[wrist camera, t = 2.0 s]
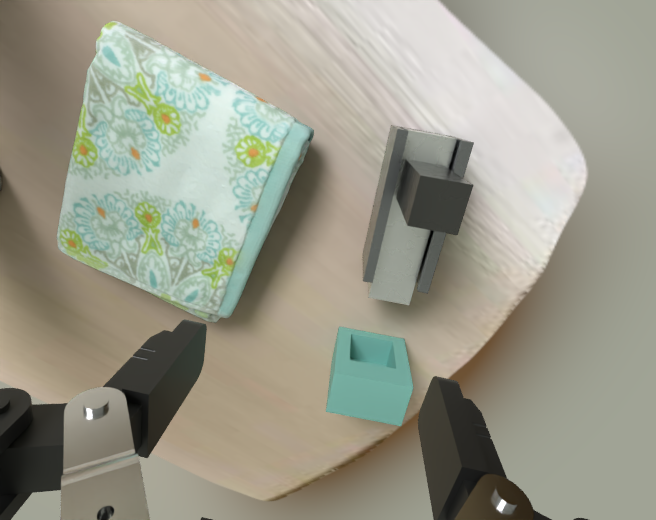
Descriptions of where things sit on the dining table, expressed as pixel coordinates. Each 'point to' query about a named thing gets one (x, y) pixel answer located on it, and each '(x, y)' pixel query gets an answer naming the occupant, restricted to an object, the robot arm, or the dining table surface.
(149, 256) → the towel
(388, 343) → the socket block
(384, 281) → the inner bar
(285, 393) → the dining table surface
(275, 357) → the dining table surface
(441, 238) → the sleeve
